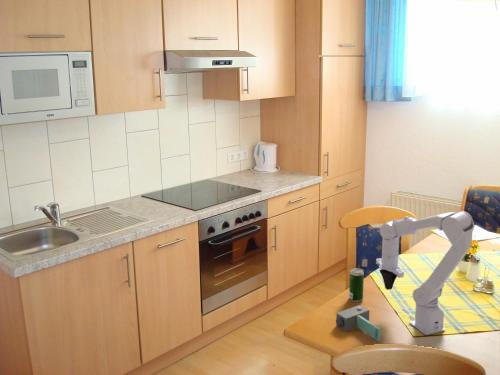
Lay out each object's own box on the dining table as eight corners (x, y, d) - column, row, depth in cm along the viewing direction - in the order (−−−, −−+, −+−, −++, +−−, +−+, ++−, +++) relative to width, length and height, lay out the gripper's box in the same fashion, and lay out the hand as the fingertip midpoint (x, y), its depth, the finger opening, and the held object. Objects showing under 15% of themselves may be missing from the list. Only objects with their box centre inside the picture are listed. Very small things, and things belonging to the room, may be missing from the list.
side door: (355, 326, 189) (355, 315, 188) (358, 325, 190) (358, 314, 189) (377, 341, 179) (378, 329, 178) (380, 340, 180) (381, 328, 179)
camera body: (343, 332, 187) (343, 317, 185) (334, 326, 191) (334, 312, 190) (369, 322, 193) (369, 308, 192) (359, 317, 197) (359, 303, 196)
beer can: (355, 303, 208) (356, 274, 205) (346, 298, 212) (346, 270, 210) (366, 299, 211) (366, 271, 208) (356, 295, 215) (356, 266, 212)
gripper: (369, 248, 200) (368, 283, 204) (392, 262, 187) (391, 298, 190) (385, 246, 203) (384, 279, 206) (409, 259, 189) (407, 295, 193)
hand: (388, 288), depth 198 cm, fingers closed
